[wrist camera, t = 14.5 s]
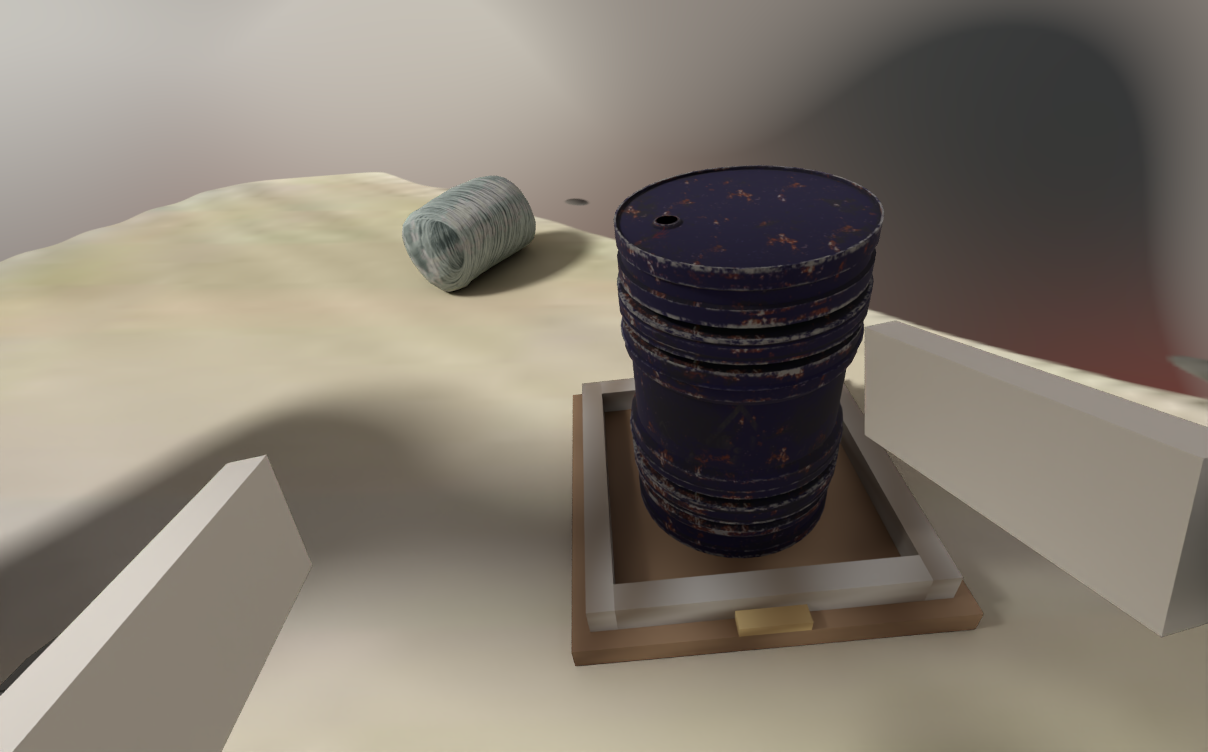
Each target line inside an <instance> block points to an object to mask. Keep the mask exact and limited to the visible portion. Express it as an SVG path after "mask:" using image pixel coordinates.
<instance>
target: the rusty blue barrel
mask: <svg viewBox="0 0 1208 752" xmlns="http://www.w3.org/2000/svg"><path fill="white" fill-rule="evenodd" d="M883 217H884V210H883V207H882V204H881V202H880V201H879V200H878V198H877V197H876V196H875V195H874V194H873V193H871V192H870V191H869V190H868V189H866V188H864V187H862V186H861V185H858V184H857V183H855V182H852V181H850V180H847V179H845V178H842V177H839V176H835V175H832V174H828V173H824V172H819V171H815V170H809V169H801V168H795V167H783V166H761V165H758V166H732V167H721V168H712V169H705V170H700V171H694V172H689V173H685V174H680V175H676V176H673V177H670V178H666V179H663V180H660V181H658V182H655V183H653V184H650V185H648V186H646V187H644V188H642V189H640V190H638V191H636V192H635V193H633V194H632V195H630V196H629V197H628V198H627V199H625V200H624V201H623V202H622V203H621V204H620V206H619V207H618V209H617V210H616V212H615V216H614V227H615V238H616V245H617V248H618V254H617V259H618V269H619V273H618V278H617V286H618V297H619V306H620V312H621V315H622V321H621V332H622V336H623V339H624V341H625V346H626V349H627V351H628V354H629V356H630V358H631V359H632V360H633V370H634V381H635V394H634V397H633V399H632V407H631V416H630V425H631V432H632V436H633V445H634V454H635V461H636V464H637V467H638V470H639V482H640V491H641V496H642V499H643V502H644V505H645V507H646V509H647V511H648V513H649V514H650V516H651V517H652V519H653V520H654V521H655V522H656V523H657V525H658V526H659V527H660V528H661V529H662V530H664V531H665V532H666V533H667V534H668V535H669V536H671V537H672V538H674V539H675V540H677V541H678V542H680V543H682V544H684V545H686V546H688V547H690V548H692V549H694V550H697V551H700V552H703V553H707V554H710V555H714V556H720V557H726V558H753V557H762V556H766V555H770V554H774V553H777V552H780V551H782V550H784V549H787V548H789V547H791V546H793V545H794V544H796V543H797V542H799V541H801V540H802V539H803V538H804V537H805V536H807V535H808V534H809V533H810V532H811V531H812V530H813V528H814V527H815V526H816V524H817V523H818V521H819V520H820V517H821V515H822V513H823V511H824V507H825V502H826V496H827V489H828V487H829V484H830V482H831V479H832V477H833V475H834V471H835V467H836V462H837V457H838V451H839V444H840V442H841V438H842V433H843V409H842V406H841V403H840V399H841V394H842V388H843V383H844V378H845V373H846V368H847V367H848V366H849V365H850V364H851V363H852V361H853V359H854V357H855V355H856V353H857V349H858V347H859V345H860V343H861V341H862V339H863V334H864V323H863V321H864V319H865V317H866V315H867V312H868V307H869V302H870V297H871V292H872V287H873V275H872V271H873V267H874V262H875V256H876V250H875V247H876V246H877V244H878V242H879V237H880V232H881V227H882V223H883Z"/></svg>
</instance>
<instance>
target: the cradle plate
mask: <svg viewBox="0 0 1208 752" xmlns="http://www.w3.org/2000/svg"><path fill="white" fill-rule="evenodd" d="M634 394H635V381H634V378H630V379H621V380H611V381H602V382H593V383H584V384H582V394H580V395H573V476H572V656H573V659H574V663H575V666H580V665H591V664H602V663H613V662H624V661H635V660H646V659H656V658H667V657H678V656H689V655H700V654H711V653H722V652H732V651H743V650H754V649H765V648H776V647H787V646H798V645H808V644H819V643H830V642H841V641H852V640H863V639H874V638H884V637H895V636H906V635H917V634H928V633H939V632H950V631H960V630H971V629H975V628H976V627H977V625H978V623H979V621H980V620H981V618H982V616H983V612H982V610H981V609H980V607H979V605H978V604H977V602H976V601H975V599H974V597H973V596H972V594H971V592H970V591H969V589H968V587H967V586H966V584H965V583H964V581H963V578H964V577H963V576H962V574H961V573H960V571H959V569H958V568H957V566H956V564H955V563H954V561H953V560H952V558H951V556H950V555H949V553H948V551H947V550H946V548H945V547H944V545H943V543H942V542H941V540H940V538H939V537H938V535H937V534H936V532H935V530H934V529H933V527H932V525H931V524H930V522H929V520H928V519H927V517H926V516H925V514H924V512H923V511H922V509H921V507H920V506H919V504H918V503H917V501H916V499H915V498H914V496H913V494H912V493H911V491H910V490H909V488H908V486H907V485H906V483H905V481H904V480H903V478H902V476H901V475H900V473H899V472H898V470H897V468H896V467H895V465H894V463H893V462H892V460H891V459H890V457H889V455H888V454H887V452H886V450H885V449H884V448H883V447H882V446H880V445H879V444H877V443H876V442H874V441H873V440H872V439H870V438H869V437H867V436H866V435H865V416H864V415H863V413H862V411H861V410H860V408H859V406H858V405H857V403H856V402H855V400H854V398H853V397H852V395H851V393H850V392H849V390H848V389H847V387H846V385H845V384H844V383H843V388H842V394H841V399H840V403H841V406H842V409H843V433H842V438H841V442H840V444H839V451H838V457H837V462H836V467H835V471H834V475H833V477H832V479H831V482H830V484H829V487H828V489H827V496H826V502H825V507H824V511H823V513H822V515H821V517H820V520H819V521H818V523H817V524H816V526H815V527H814V528H813V530H812V531H811V532H810V533H809V534H808V535H807V536H805V537H804V538H803V539H802V540H801V541H799V542H797V543H796V544H794V545H793V546H791V547H789V548H787V549H784V550H782V551H780V552H777V553H774V554H770V555H766V556H762V557H753V558H726V557H720V556H714V555H710V554H707V553H703V552H700V551H697V550H694V549H692V548H690V547H688V546H686V545H684V544H682V543H680V542H678V541H677V540H675V539H674V538H672V537H671V536H669V535H668V534H667V533H666V532H665V531H664V530H662V529H661V528H660V527H659V526H658V525H657V523H656V522H655V521H654V520H653V519H652V517H651V516H650V514H649V513H648V511H647V509H646V507H645V505H644V502H643V499H642V496H641V491H640V482H639V470H638V467H637V464H636V461H635V454H634V445H633V436H632V432H631V425H630V416H631V407H632V399H633V397H634Z"/></svg>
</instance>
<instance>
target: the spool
mask: <svg viewBox="0 0 1208 752" xmlns="http://www.w3.org/2000/svg"><path fill="white" fill-rule="evenodd" d="M535 230H536V222H535V218H534V215H533V213H532V210H531V207H530V205H529V203H528V201H527V200H526V198H525V197H524V195H523V194H522V192H521V191H520V190H519V188H518V187H517V186H515V185H514V184H513V183H512V182H511V181H509V180H507V179H506V178H503V177H499V176H486V177H480V178H475V179H473V180H470V181H468V182H465V183H463V184H460V185H458V186H455V187H453V188H451V189H449V190H448V191H446V192H444V193H442V194H441V195H439V196H438V197H436V198H434V199H432V200H431V201H430V202H428V203H427V204H425V205H424V206H423V207H421V208H419V209H418V210H416V211H414V212H412V213H411V214H410V215H409V216H408V218H407V219H406V221H405V223H404V224H403V231H402V236H403V241H404V245H405V247H406V250H407V252H408V254H409V256H410V258H411V260H412V262H413V263H414V265H415V266H416V267H417V269H418V270H419V271H420V273H421V274H422V275H423V276H424V277H425V278H426V279H427V280H428V281H429V282H430V283H431V284H433V285H435V286H436V287H438V288H440V289H442V290H444V291H447V292H451V291H454V290H458V289H461V288H464V287H466V286H467V285H468V284H469V283H470V282H471V280H473V279H475V278H476V277H478V276H479V275H480V274H481V273H483V272H485V271H487V270H488V269H489V268H491V267H492V266H494V265H496V264H498V263H499V262H501V261H502V260H504V259H506V258H508V257H510V256H511V255H512V254H514V253H516V252H518V251H519V250H521V249H522V248H523V247H526V246H527V245H529V244H530V242H531V241H532V240H533V238H534V235H535Z"/></svg>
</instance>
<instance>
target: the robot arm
mask: <svg viewBox="0 0 1208 752" xmlns="http://www.w3.org/2000/svg"><path fill="white" fill-rule="evenodd" d="M865 435H866V436H867V437H869V438H870V439H872V440H873V441H874V442H876V443H877V444H879V445H880V446H882V447H883V448H885V449H886V450H888V451H889V452H891V453H892V454H894V455H895V456H896V457H898V458H899V459H901V460H902V461H904V462H905V463H907V464H908V465H910V466H911V467H913V468H914V469H916V470H917V471H918V472H920V473H921V474H923V475H924V476H926V477H927V478H929V479H930V480H932V481H933V482H935V483H936V484H937V485H939V486H940V487H942V488H943V489H945V490H946V491H948V492H949V493H951V494H952V495H954V496H955V497H957V498H958V499H959V500H961V501H962V502H964V503H965V504H967V505H968V506H970V507H971V508H973V509H974V510H976V511H977V512H979V513H980V514H981V515H983V516H984V517H986V518H987V519H989V520H990V521H992V522H993V523H995V524H996V525H998V526H999V527H1001V528H1002V529H1003V530H1005V531H1006V532H1008V533H1009V534H1011V535H1012V536H1014V537H1015V538H1017V539H1018V540H1020V541H1021V542H1023V543H1024V544H1025V545H1027V546H1028V547H1030V548H1031V549H1033V550H1034V551H1036V552H1037V553H1039V554H1040V555H1042V556H1043V557H1044V558H1046V559H1047V560H1049V561H1050V562H1052V563H1053V564H1055V565H1056V566H1058V567H1059V568H1061V569H1062V570H1064V571H1065V572H1066V573H1068V574H1069V575H1071V576H1072V577H1074V578H1075V579H1077V580H1078V581H1080V582H1081V583H1083V584H1084V585H1086V586H1087V587H1088V588H1090V589H1091V590H1093V591H1094V592H1096V593H1097V594H1099V595H1100V596H1102V597H1103V598H1105V599H1106V600H1108V601H1109V602H1110V603H1112V604H1113V605H1115V606H1116V607H1118V608H1119V609H1121V610H1122V611H1124V612H1125V613H1127V614H1128V615H1129V616H1131V617H1132V618H1134V619H1135V620H1137V621H1138V622H1140V623H1141V624H1143V625H1144V626H1146V627H1147V628H1149V629H1150V630H1151V631H1153V632H1154V633H1156V634H1157V635H1159V636H1160V637H1164V636H1167V635H1170V634H1174V633H1177V632H1181V631H1184V630H1187V629H1191V628H1194V627H1197V626H1201V625H1204V624H1207V623H1208V427H1205V426H1202V425H1199V424H1197V423H1194V422H1191V421H1188V420H1185V419H1182V418H1179V417H1176V416H1173V415H1170V414H1167V413H1164V412H1161V411H1158V410H1156V409H1153V408H1150V407H1147V406H1144V405H1141V404H1138V403H1135V402H1132V401H1129V400H1126V399H1123V398H1120V397H1118V396H1115V395H1112V394H1109V393H1106V392H1103V391H1100V390H1097V389H1094V388H1091V387H1088V386H1085V385H1082V384H1080V383H1077V382H1074V381H1071V380H1068V379H1065V378H1062V377H1059V376H1056V375H1053V374H1050V373H1047V372H1044V371H1042V370H1039V369H1036V368H1033V367H1030V366H1027V365H1024V364H1021V363H1018V362H1015V361H1012V360H1009V359H1006V358H1003V357H1001V356H998V355H995V354H992V353H989V352H986V351H983V350H980V349H977V348H974V347H971V346H968V345H965V344H963V343H960V342H957V341H954V340H951V339H948V338H945V337H942V336H939V335H936V334H933V333H930V332H927V331H925V330H922V329H919V328H916V327H913V326H910V325H907V324H904V323H901V322H898V321H891V322H886V323H882V324H877V325H872V326H868V327H865ZM311 567H312V563H311V561H310V559H309V556H308V554H307V551H306V549H305V546H304V544H303V541H302V539H301V537H300V534H299V532H298V529H297V527H296V524H295V522H294V520H293V517H292V515H291V512H290V510H289V507H288V505H287V503H286V500H285V498H284V495H283V493H282V490H281V488H280V486H279V483H278V481H277V478H276V476H275V473H274V471H273V469H272V466H271V464H270V461H269V459H268V456H267V455H263V456H258V457H254V458H249V459H244V460H240V461H235V462H230V463H227V464H226V465H225V466H224V467H223V468H222V469H221V470H220V471H219V472H218V473H217V474H216V475H215V476H214V477H213V478H212V479H211V480H210V481H209V482H208V483H207V484H206V485H205V486H204V487H203V488H202V489H201V490H200V492H199V493H198V494H197V495H196V496H195V497H194V498H193V499H192V500H191V501H190V502H189V503H188V504H187V505H186V506H185V507H184V508H183V509H182V510H181V511H180V512H179V513H178V514H177V515H176V516H175V517H174V518H173V519H172V520H171V521H170V522H169V523H168V524H167V525H166V526H165V527H164V529H163V530H162V531H161V532H160V533H159V534H158V535H157V536H156V537H155V538H154V539H153V540H152V541H151V542H150V543H149V544H148V545H147V546H146V547H145V548H144V549H143V550H142V551H141V552H140V553H139V554H138V555H137V556H136V557H135V558H134V559H133V560H132V561H131V562H130V563H129V564H128V566H127V567H126V568H125V569H124V570H123V571H122V572H121V573H120V574H119V575H118V576H117V577H116V578H115V579H114V580H113V581H112V582H111V583H110V584H109V585H108V586H107V587H106V588H105V589H104V590H103V591H102V592H101V593H100V594H99V595H98V596H97V597H96V598H95V599H94V600H93V601H92V603H91V604H90V605H89V606H88V607H87V608H86V609H85V610H84V611H83V612H82V613H81V614H80V615H79V616H78V617H77V618H76V619H75V620H74V621H73V622H72V623H71V624H70V625H69V626H68V627H67V628H66V629H65V630H64V631H63V632H62V633H61V634H60V635H59V636H57V637H56V638H55V639H53V640H52V641H51V642H49V643H48V644H46V645H45V646H44V647H42V648H41V649H40V650H38V651H37V652H35V653H34V654H33V655H31V656H30V657H29V658H27V659H26V660H25V661H24V662H23V663H22V664H21V665H20V666H19V667H18V668H17V669H16V670H15V671H14V672H13V673H12V674H11V675H10V676H9V677H8V678H7V679H6V680H5V681H4V682H3V683H2V684H1V685H0V752H222V750H223V748H224V746H225V743H226V741H227V739H228V737H229V735H230V733H231V731H232V729H233V727H234V725H235V723H236V721H237V719H238V717H239V715H240V713H241V711H242V709H243V707H244V705H245V702H246V700H247V698H248V696H249V694H250V692H251V690H252V688H253V686H254V684H255V682H256V680H257V678H258V676H259V674H260V672H261V670H262V668H263V666H264V664H265V661H266V659H267V657H268V655H269V653H270V651H271V649H272V647H273V645H274V643H275V641H276V639H277V637H278V635H279V633H280V631H281V629H282V627H283V625H284V623H285V620H286V618H287V616H288V614H289V612H290V610H291V608H292V606H293V604H294V602H295V600H296V598H297V596H298V594H299V592H300V590H301V588H302V586H303V584H304V582H305V579H306V577H307V575H308V573H309V571H310V569H311Z"/></svg>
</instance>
